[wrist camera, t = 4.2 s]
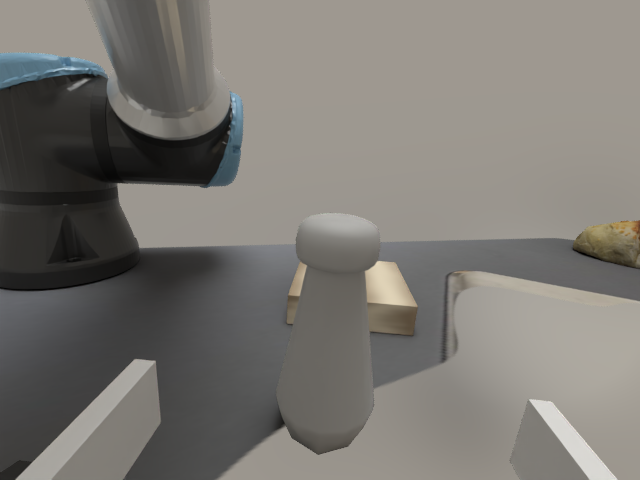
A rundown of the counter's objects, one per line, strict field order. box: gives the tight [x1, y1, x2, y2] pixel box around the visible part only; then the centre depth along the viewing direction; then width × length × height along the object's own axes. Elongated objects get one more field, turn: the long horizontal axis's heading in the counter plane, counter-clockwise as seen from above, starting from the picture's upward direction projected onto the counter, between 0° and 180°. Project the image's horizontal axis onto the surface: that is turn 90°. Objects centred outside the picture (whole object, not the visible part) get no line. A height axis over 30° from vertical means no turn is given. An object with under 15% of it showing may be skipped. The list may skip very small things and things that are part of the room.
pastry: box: [573, 220, 640, 269], centre depth 61 cm, size 14×12×8 cm
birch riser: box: [287, 261, 418, 336], centre depth 35 cm, size 12×12×3 cm
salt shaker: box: [276, 213, 380, 455], centre depth 18 cm, size 6×6×13 cm
